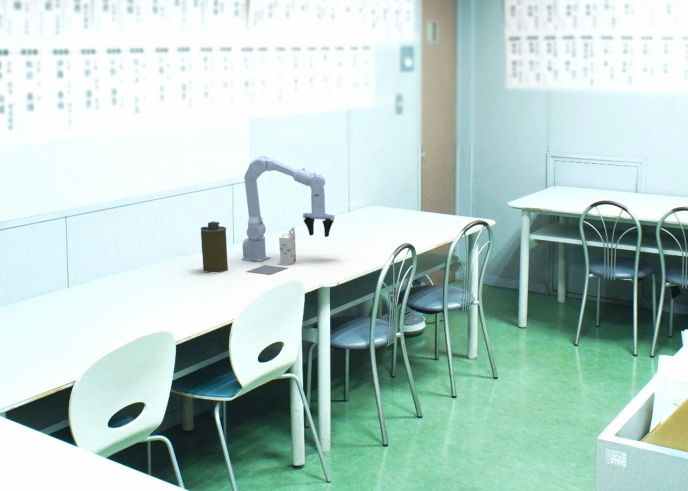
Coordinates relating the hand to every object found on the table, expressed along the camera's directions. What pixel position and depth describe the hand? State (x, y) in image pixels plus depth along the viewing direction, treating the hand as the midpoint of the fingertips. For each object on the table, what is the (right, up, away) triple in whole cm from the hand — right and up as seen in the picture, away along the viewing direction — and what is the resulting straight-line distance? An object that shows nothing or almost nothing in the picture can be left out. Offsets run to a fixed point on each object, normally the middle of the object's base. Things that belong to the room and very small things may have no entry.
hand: (319, 235), depth 419 cm
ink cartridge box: (-13, -12, -2) cm, 18 cm away
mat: (-21, -14, -15) cm, 29 cm away
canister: (-43, -14, -12) cm, 47 cm away
